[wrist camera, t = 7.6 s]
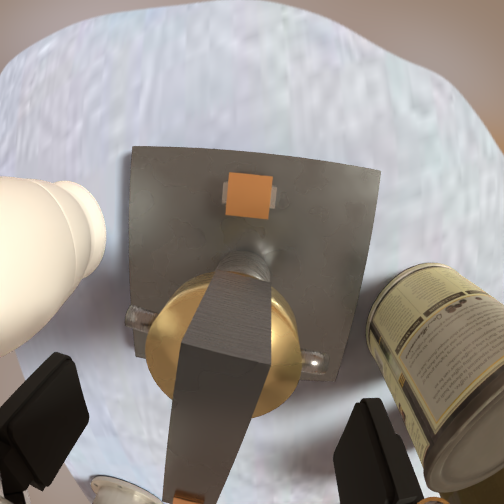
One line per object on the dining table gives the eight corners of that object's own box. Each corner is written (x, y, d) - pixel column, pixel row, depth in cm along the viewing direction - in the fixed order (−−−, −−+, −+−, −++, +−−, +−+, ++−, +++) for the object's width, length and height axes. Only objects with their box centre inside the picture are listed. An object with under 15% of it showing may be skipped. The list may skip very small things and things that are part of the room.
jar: (63, 307, 24) (-44, 401, 10) (11, 213, 22) (-114, 259, 8) (143, 253, 22) (8, 367, 8) (81, 141, 20) (-84, 145, 6)
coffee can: (484, 301, 22) (580, 386, 8) (413, 383, 25) (470, 497, 11) (422, 234, 21) (555, 315, 7) (339, 336, 23) (387, 484, 10)
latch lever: (352, 280, 12) (421, 391, 6) (297, 411, 14) (305, 527, 8) (144, 228, 12) (34, 295, 6) (131, 370, 14) (72, 470, 8)
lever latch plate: (331, 366, 24) (351, 447, 16) (144, 343, 25) (99, 413, 16) (371, 170, 20) (434, 176, 11) (143, 147, 20) (71, 142, 12)
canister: (404, 398, 25) (473, 569, 6) (488, 352, 23) (590, 481, 4) (413, 450, 28) (457, 580, 8) (484, 411, 26) (549, 522, 7)
